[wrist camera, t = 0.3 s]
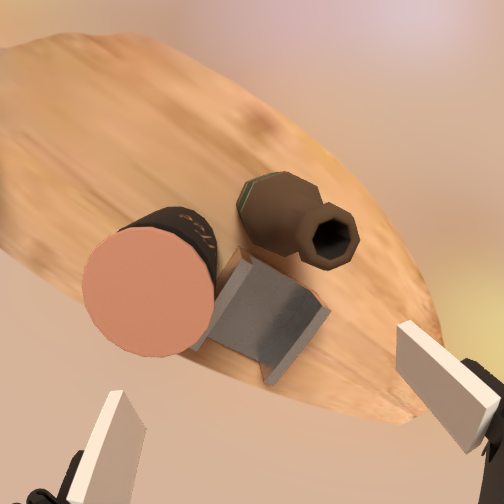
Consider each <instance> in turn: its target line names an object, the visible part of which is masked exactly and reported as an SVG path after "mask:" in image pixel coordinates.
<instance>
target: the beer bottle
mask: <svg viewBox="0 0 504 504" xmlns="http://www.w3.org/2000/svg"><path fill="white" fill-rule="evenodd" d="M236 206H237V208H238V211H239V213H240V216H241V219H242V221H243V224H244V226H245V228H246V230H247V232H248V234H249V236H250V238H251V240H252V242H253V243H254V244H256V245H258V246H260V247H262V248H265V249H267V250H269V251H272V252H274V253H277V254H279V255H281V256H284V257H286V256H289V255H291V254H293V253H296V252H299V255H300V258H301V261H303V262H305V263H308V264H310V265H312V266H315V267H317V268H319V269H322V270H326V271H330V270H332V269H334V268H337V267H339V266H341V265H344V264H346V263H348V262H350V261H351V259H352V257H353V254H354V252H355V250H356V248H357V246H358V244H359V242H360V238H359V234H358V231H357V227H356V224H355V220H354V218H353V216H352V215H351V213H349V212H347V211H345V210H343V209H341V208H339V207H337V206H336V205H334V204H332V203H330V202H328V203H325V204H323V202H322V199H321V196H320V193H319V190H318V187H317V186H315V185H313V184H311V183H309V182H307V181H305V180H303V179H301V178H299V177H297V176H295V175H293V174H291V173H289V172H285V171H282V172H275V173H269V174H266V175H263V176H261V177H258V178H255V179H253V180H250V181H247V182H245V185H244V187H243V189H242V191H241V194H240V196H239V198H238V200H237V203H236Z"/></svg>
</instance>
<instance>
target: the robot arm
mask: <svg viewBox="0 0 504 504" xmlns="http://www.w3.org/2000/svg"><path fill="white" fill-rule="evenodd" d="M396 371H397V372H398V373H399V374H400V375H401V377H402V378H403V379H404V380H405V381H406V382H407V384H408V385H409V386H410V387H411V388H412V389H413V391H414V392H415V393H416V394H417V395H418V396H419V398H420V399H421V400H422V401H423V402H424V404H425V405H426V406H427V407H428V408H429V410H430V411H431V412H432V413H433V414H434V416H435V417H436V418H437V419H438V420H439V421H440V423H441V424H442V425H443V427H444V428H445V429H446V430H447V431H448V432H449V434H450V435H451V436H452V437H453V439H454V440H455V441H456V442H457V444H458V445H459V446H460V447H461V449H462V450H463V451H464V452H465V454H468V453H469V452H471V451H472V450H474V449H475V448H476V447H478V446H479V445H480V444H481V442H482V440H483V438H484V436H486V438H487V439H488V440H489V441H488V443H487V444H486V446H485V448H484V450H483V452H482V455H481V456H483V455H484V454H485V452H486V460H485V468H484V475H483V481H482V487H481V492H480V497H479V502H478V504H504V384H503V383H502V382H500V381H499V380H498V379H497V378H496V377H494V376H493V375H492V374H490V372H488V371H487V370H485V369H484V367H482V366H481V365H480V364H478V363H477V362H476V361H473V360H470V359H468V358H466V359H464V360H462V361H459V360H458V359H456V358H455V357H454V356H453V355H452V354H450V353H449V352H448V351H447V350H446V349H444V348H443V347H442V346H441V345H440V344H439V343H437V342H436V341H435V340H434V339H432V338H431V337H430V336H429V335H428V334H426V333H425V332H424V331H423V330H422V329H420V328H419V327H418V326H417V325H415V324H414V323H413V322H412V321H410V320H409V321H406V322H404V323H401V324H399V325H397V348H396ZM145 433H146V427H145V426H144V424H143V423H142V421H141V419H140V418H139V416H138V414H137V413H136V411H135V409H134V408H133V406H132V404H131V402H130V401H129V399H128V397H127V395H126V394H125V392H124V390H119V391H110V393H109V395H108V397H107V400H106V402H105V404H104V406H103V408H102V411H101V413H100V415H99V418H98V420H97V422H96V425H95V427H94V429H93V432H92V434H91V436H90V439H89V441H88V444H87V446H86V449H85V451H84V450H79V451H78V452H77V453H76V455H75V456H74V457H73V458H72V460H71V463H70V465H69V468H68V470H67V472H66V476H65V477H64V480H63V483H62V485H61V488H60V490H59V493H58V496H57V498H55V497H54V496H53V495H52V494H51V493H50V492H49V491H47V490H45V489H36V490H34V491H32V492H31V493H30V494H29V496H28V498H27V501H26V503H27V504H130V500H131V495H132V490H133V485H134V480H135V476H136V471H137V467H138V462H139V458H140V454H141V449H142V445H143V441H144V437H145ZM13 504H20V503H13Z"/></svg>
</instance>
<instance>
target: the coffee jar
mask: <svg viewBox="0 0 504 504" xmlns="http://www.w3.org/2000/svg"><path fill="white" fill-rule="evenodd" d="M216 260H217V241H216V238H215V235H214V232H213V229H212V228H211V227H210V225H209V224H208V223H207V221H206V220H205V218H203V217H202V216H200V215H199V214H198V213H196V212H195V211H193V210H190V209H187V208H184V207H166V208H163V209H161V210H158V211H155V212H153V213H151V214H149V215H147V216H145V217H143V218H141V219H139V220H137V221H135V222H133V223H132V224H130V225H128V226H126V227H124V228H122V229H120V230H119V231H118V232H117V233H114V234H112V235H109V236H108V237H107V238H106V239H105V240H103V241H102V242H101V243H100V244H99V245H98V246H97V247H96V248H95V249H94V250H93V252H92V254H91V256H90V258H89V260H88V262H87V264H86V266H85V269H84V276H83V283H82V290H83V296H84V301H85V307H86V309H87V311H88V313H89V314H90V317H91V319H92V321H93V323H94V325H95V326H96V327H97V328H98V329H99V330H100V331H101V333H102V334H103V335H104V336H105V337H106V338H107V339H108V340H109V341H111V342H112V343H114V344H115V345H117V346H119V347H120V348H121V349H123V350H125V351H128V352H131V353H134V354H137V355H140V356H143V357H166V356H170V355H174V354H178V353H181V352H183V351H184V350H186V349H187V348H189V347H190V346H192V345H193V344H195V343H197V341H198V340H199V339H200V338H201V336H202V335H203V334H204V332H205V331H206V330H207V328H208V327H209V324H210V321H211V318H212V315H213V312H214V308H215V306H214V297H215V286H216Z"/></svg>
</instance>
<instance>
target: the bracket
mask: <svg viewBox="0 0 504 504" xmlns="http://www.w3.org/2000/svg"><path fill="white" fill-rule="evenodd" d="M214 306H215V308H214V312H213V315H212V318H211V321H210V324H209V327H208V328H207V330H206V331H205V332H204V334H203V335H202V336H201V338H200V339H199V340H198V341H197V343H195V344H193V345H192V346H190V347H189V348H190V349H192V350H194V351H196V352H197V351H198V350H199V348H200V347H201V345H202V344H203V342H204V341H205V339H206V337H208V338H210V339H212V340H214V341H216V342H218V343H220V344H222V345H225V346H227V347H229V348H231V349H233V350H235V351H237V352H239V353H241V354H243V355H245V356H248V357H250V358H252V359H254V360H256V361H259V362H260V367H261V371H262V375H263V380H264V382H265V383H267V384H270V385H272V386H274V384H275V383H276V382H277V381H278V380H279V378H280V377H281V376H282V375H283V373H284V372H285V371H286V370H287V369H288V367H289V366H290V365H291V364H292V362H293V361H294V360H295V359H296V357H297V356H298V355H299V354H300V352H301V351H302V350H303V348H304V347H305V346H306V345H307V343H308V342H309V341H310V339H311V338H312V337H313V335H314V334H315V333H316V331H317V330H318V329H319V327H320V326H321V325H322V323H323V322H324V321H325V319H326V318H327V316H328V315H329V314H330V312H331V310H330V308H329V307H328V306H327V305H326V304H325V302H324V301H323V300H322V299H321V298H320V296H319V295H318V294H317V293H316V292H315V291H313V290H311V289H310V288H308V287H306V286H305V285H303V284H301V283H300V282H298V281H296V280H295V279H293V278H291V277H290V276H288V275H286V274H285V273H283V272H281V271H280V270H278V269H276V268H275V267H273V266H271V265H270V264H268V263H266V262H264V261H263V260H261V259H259V258H258V257H256V256H254V255H253V254H251V253H249V252H248V251H246V250H244V249H243V248H241V247H239V246H238V248H237V249H236V251H235V252H234V254H233V256H232V257H231V259H230V260H229V262H228V264H227V265H226V267H225V268H224V270H223V272H222V273H221V275H220V276H219V278H218V279H217V281H216V286H215V297H214Z"/></svg>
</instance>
